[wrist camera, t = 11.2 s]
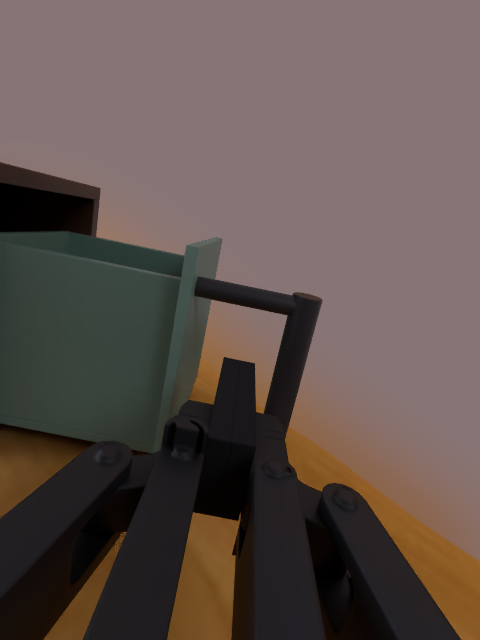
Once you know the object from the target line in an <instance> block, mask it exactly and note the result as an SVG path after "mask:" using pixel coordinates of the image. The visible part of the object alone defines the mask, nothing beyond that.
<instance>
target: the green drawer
mask: <svg viewBox="0 0 480 640" xmlns="http://www.w3.org/2000/svg"><path fill="white" fill-rule="evenodd" d="M221 244H222V239H221V238H212V239H208V240H205V241H201V242H197V243H193V244H190V245H187V246H186V251H185V255H180V254H175V253H170V252H166V251H161V250H156V249H151V248H146V247H141V246H137V245H132V244H127V243H122V242H117V241H113V240H108V239H103V238H98V237H93V236H89V235H84V234H79V233H74V232H69V231H38V232H0V423H1V424H6V425H11V426H16V427H21V428H26V429H31V430H36V431H41V432H46V433H51V434H56V435H61V436H67V437H72V438H77V439H82V440H87V441H92V442H97V443H98V442H102V441H118V442H122V443H124V444H126V445H127V446H129V447H130V449H132V450H137V451H142V452H147V453H155V452H157V451H159V450H160V449H161V445H162V439H163V433H164V427H165V424H166V422H167V421H168V420H170V419H172V418H174V417H177V416H178V413H179V411H180V408H181V406H182V405H183V404H184V403H186V402H187V401H188V399H189V397H190V394H191V391H192V389H193V386H194V383H195V381H196V378H197V374H198V369H199V363H200V358H201V352H202V346H203V341H204V336H205V331H206V325H207V320H208V314H209V309H210V304H211V300H216V301H221V302H226V303H231V304H236V305H240V306H245V307H250V308H255V309H260V310H265V311H269V312H274V313H279V314H284V315H288V316H287V321H286V325H285V329H284V333H283V337H282V341H281V345H280V349H279V353H278V357H277V361H276V365H275V369H274V373H273V377H272V382H271V386H270V390H269V394H268V398H267V402H266V406H265V410H264V414H267V415H272V416H277V418H278V419H279V420H280V422H281V423H282V424H283V430H284V436H285V437H286V433H287V430H288V426H289V422H290V419H291V415H292V411H293V407H294V403H295V399H296V396H297V393H298V389H299V385H300V381H301V378H302V374H303V370H304V367H305V363H306V359H307V355H308V352H309V348H310V344H311V341H312V337H313V333H314V330H315V326H316V322H317V318H318V315H319V311H320V307H321V304H322V299H321V298H319V297H316V296H313V295H310V294H305V293H297V292H296V293H293V296H292V295H287V294H282V293H277V292H273V291H268V290H263V289H258V288H253V287H248V286H243V285H239V284H234V283H229V282H224V281H219V280H215V276H216V271H217V266H218V260H219V255H220V249H221Z"/></svg>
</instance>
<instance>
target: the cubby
mask: <svg viewBox="0 0 480 640" xmlns="http://www.w3.org/2000/svg"><path fill="white" fill-rule="evenodd" d="M99 199H100V188H98V187H94V186H90V185H86V184H82V183H79V182H74V181H71V180H66V179H63V178H59V177H55V176H51V175H47V174H44V173H40V172H36V171H32V170H28V169H24V168H20V167H17V166H12V165H9V164H5V163H1V162H0V232H38V231H69V232H74V233H79V234H84V235H89V236H93V237H96V231H97V220H98V209H99ZM5 426H6V424H1V423H0V430H1V429H2V428H3V427H5Z"/></svg>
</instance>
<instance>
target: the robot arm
mask: <svg viewBox="0 0 480 640" xmlns="http://www.w3.org/2000/svg"><path fill="white" fill-rule="evenodd" d="M193 512H195V513H200V514H206V515H211V516H216V517H221V518H226V519H231V520H237V521H238V520H239V516H240V512H241V520H240V525H239V529H238V533H237V537H236V541H235V545H234V549H233V553H232V555H236V562H235V581H234V600H233V619H232V638H231V640H461V639H460V637H459V636H458V635H457V633H456V632H455V630H454V629H453V627H452V626H451V624H450V623H449V621H448V620H447V618H446V617H445V616H444V614H443V613H442V611H441V610H440V608H439V607H438V605H437V604H436V602H435V601H434V600H433V598H432V597H431V595H430V594H429V592H428V591H427V589H426V588H425V586H424V585H423V583H422V582H421V581H420V579H419V578H418V576H417V575H416V573H415V572H414V570H413V569H412V567H411V566H410V564H409V563H408V562H407V560H406V559H405V557H404V556H403V554H402V553H401V551H400V550H399V548H398V547H397V546H396V544H395V543H394V541H393V540H392V538H391V537H390V535H389V534H388V532H387V531H386V529H385V528H384V527H383V525H382V524H381V522H380V521H379V519H378V518H377V516H376V515H375V513H374V512H373V511H372V509H371V508H370V506H369V505H368V503H367V502H366V500H365V499H364V498H363V497H362V496H361V495H360V494H359V493H358V492H356V491H355V490H354V489H352V488H350V487H348V486H345V485H343V484H337V483H332V484H327V485H326V486H325V487H323V490H322V492H321V491H318V490H316V489H314V488H312V487H309V486H307V485H306V484H304V483H302V482H301V481H300V480H298V478H297V474H296V471H295V469H294V468H293V467H292V466H291V465H290V464H289V462H288V456H287V449H286V443H285V436H284V430H283V424H282V423H281V422H280V420H279V419H278V418H277V416H272V415H267V414H262V413H257V412H256V398H255V363H250V362H245V361H240V360H235V359H230V358H226V357H224V359H223V364H222V369H221V373H220V378H219V383H218V387H217V392H216V396H215V401H214V405H212V404H207V403H202V402H197V401H192V400H189V401H187V402H186V403H184V404H183V405H182V406H181V408H180V411H179V413H178V416H177V417H174V418H172V419H170V420H168V421H167V422H166V424H165V427H164V433H163V439H162V445H161V449H160V450H159V451H157V452H155V453H152V454H147V455H133V454H132V450H131V449H130V447H129V446H127V445H126V444H124V443H122V442H118V441H102V442H98V443H95V444H93V445H91V446H90V447H88V448H87V449H86V450H84V451H83V452H82V453H81V454H79V455H78V456H77V457H76V458H75V459H73V460H72V461H71V462H70V463H68V464H67V465H66V466H65V467H63V468H62V469H61V470H60V471H58V472H57V473H56V474H55V475H54V476H52V477H51V478H50V479H49V480H47V481H46V482H45V483H44V484H42V485H41V486H40V487H39V488H38V489H36V490H35V491H34V492H33V493H31V494H30V495H29V496H28V497H26V498H25V499H24V500H23V501H21V502H20V503H19V504H18V505H17V506H15V507H14V508H13V509H12V510H10V511H9V512H8V513H7V514H5V515H4V516H3V517H2V518H1V519H0V640H43V639H44V638H45V636H46V635H47V634H48V632H49V631H50V630H51V628H52V627H53V625H54V624H55V623H56V621H57V620H58V619H59V617H60V616H61V615H62V613H63V612H64V611H65V609H66V608H67V607H68V605H69V604H70V603H71V601H72V600H73V599H74V597H75V596H76V595H77V593H78V592H79V591H80V589H81V588H82V587H83V585H84V584H85V583H86V581H87V580H88V579H89V577H90V576H91V575H92V573H93V572H94V571H95V569H96V568H97V567H98V565H99V564H100V563H101V561H102V560H103V559H104V557H105V556H106V555H107V553H108V552H109V551H110V549H111V548H112V547H113V545H114V544H115V542H116V541H117V540H118V538H119V537H120V534H121V532H126V531H127V533H126V535H125V538H124V540H123V542H122V545H121V547H120V550H119V552H118V555H117V557H116V560H115V562H114V564H113V567H112V569H111V572H110V574H109V577H108V579H107V582H106V584H105V587H104V589H103V591H102V594H101V596H100V599H99V601H98V604H97V606H96V609H95V611H94V614H93V616H92V618H91V621H90V623H89V626H88V628H87V631H86V633H85V636H84V638H83V640H167V636H168V631H169V626H170V621H171V616H172V611H173V606H174V602H175V597H176V592H177V587H178V582H179V577H180V572H181V567H182V562H183V558H184V553H185V548H186V543H187V538H188V533H189V528H190V523H191V518H192V514H193Z"/></svg>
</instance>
